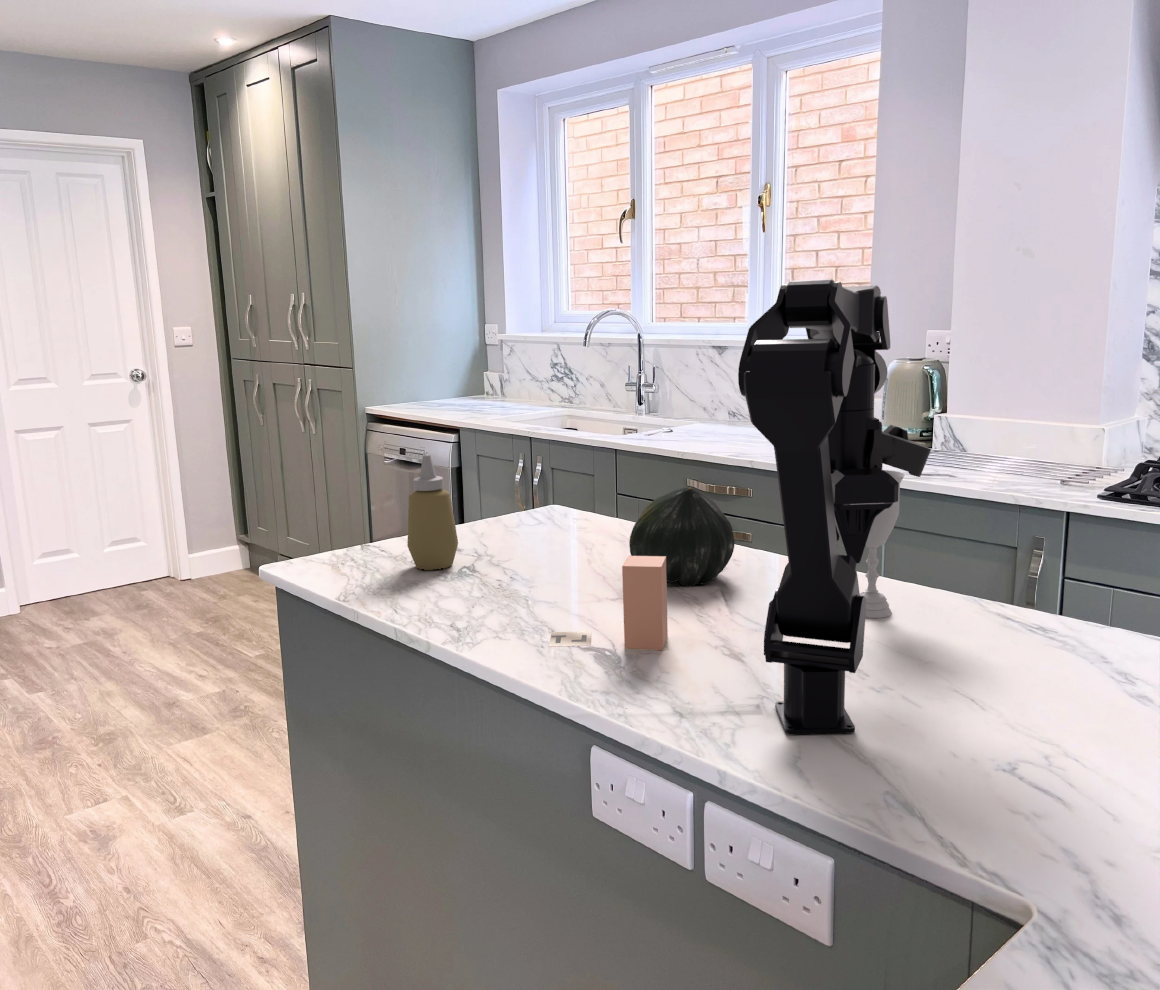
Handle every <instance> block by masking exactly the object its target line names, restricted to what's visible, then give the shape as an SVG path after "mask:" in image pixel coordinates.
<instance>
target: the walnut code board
mask: <svg viewBox="0 0 1160 990" xmlns="http://www.w3.org/2000/svg"><path fill="white" fill-rule="evenodd" d="M592 633H593V631H592V630H589V631H588V630H583V631H579V630H578V631H551V633H550V638H549V644H548V645H549V646H548V647H550V648H552V647H584V646H585V647H587V646H589V647H590V646H592V637H593V634H592ZM668 645H669V644H668V639H667V640H666V643H665V646H664V649H663V650H662V651H669V647H668ZM624 650H625V652H631V651H632V652H633V651H635V652H636V651H638V652H639V651H646V650H645V649H625V648H624Z"/></svg>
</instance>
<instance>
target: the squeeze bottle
mask: <svg viewBox="0 0 1160 990" xmlns="http://www.w3.org/2000/svg"><path fill="white" fill-rule="evenodd" d="M421 460H422V461H421V466H420V471H419V472H420V473H419V476H418V477H415V478H413V489H414V491H412V492H411V493H410V494H409V495H408V507H407V508H408V515H407V516H408V517H407V548H408V551H409V553H410V556H411V558H412V561H413V563H414V565H415V567H416V568H417V569H418V568H419V570H422V569H424V571H434V570H433V569H439V570H442V569H441V568H443V569H447V568H450V567H451V566H452V565H453V564H454V560H455V557H456V554H457V549H458V546H459V539H458V534H457V528H456V522H455V516H454V509H453V504H452V498H451V493H450V492H449V491H448V490H446V489H443V488H444V484H445V483H444V477H443V476H439V475H437V474H436V470H435V467H434V464H433V460H432V457H431V455H430V454H424V455H422V459H421ZM449 566H450V567H449Z"/></svg>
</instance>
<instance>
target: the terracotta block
mask: <svg viewBox="0 0 1160 990" xmlns="http://www.w3.org/2000/svg"><path fill="white" fill-rule="evenodd" d="M621 570H622V600H623V601H622V603H623V607H622V608H623V609H622V610H623V630H624V631H623V635H624V642H623V643H624V650H625V649H645V650H644V651H664V650H663V649H664V646H665V643H666V640H667V641H668V634H669V633H668V632H669V631H668V630H669V629H668V593H667V592H668V591H667V590H668V587H667V585H668V584H667V582H668V581H667V580H666V556H631V555H627V557H626V559H625V561H624V562H623V564H622V567H621Z"/></svg>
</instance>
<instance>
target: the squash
mask: <svg viewBox="0 0 1160 990" xmlns="http://www.w3.org/2000/svg"><path fill="white" fill-rule="evenodd" d="M734 549H735V535H734V529H733V527H732V524H731V522H730V520H729V519H728V518H727V516H726V515H725V514H724V512H723V511H722V510H721V509H720V506H718V504H717V503H716V502H715V501H714V500H713V499H711V498H710V497H709V496H707V495H706V494H704V493H703V492H702V491H700V490H699V489H697V488H695V487H690V486H689V487H683V488H679V489H676V490H673V491H671V492H668V493H666V494H664V495H661V496H658V497H657V498H656V499H654V500H652V501H651V502H650V503H649V504H647V505H646V506H645V508H644V509H643V510H642V511H641V513H640V516H639V518H637V520H636V521H635V523H634V525H633V528H632V530H631V533H630V536H629V552H630V556H666V581H667V582H669V583H674V582H676V581H678V582H679V583H680V584H681V585H683V586H685V587H689V588H690V587H694V586H695V585H697V584H698V585H705V584H709V583H711V582H712V581H714V580H715V579H716V578H717V576H719V574H720V573H722V571H723V570H725V568H726V566H727V565H728V564H729V562H730V561H731V558H732V556H733V553H734V551H735V550H734Z"/></svg>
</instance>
